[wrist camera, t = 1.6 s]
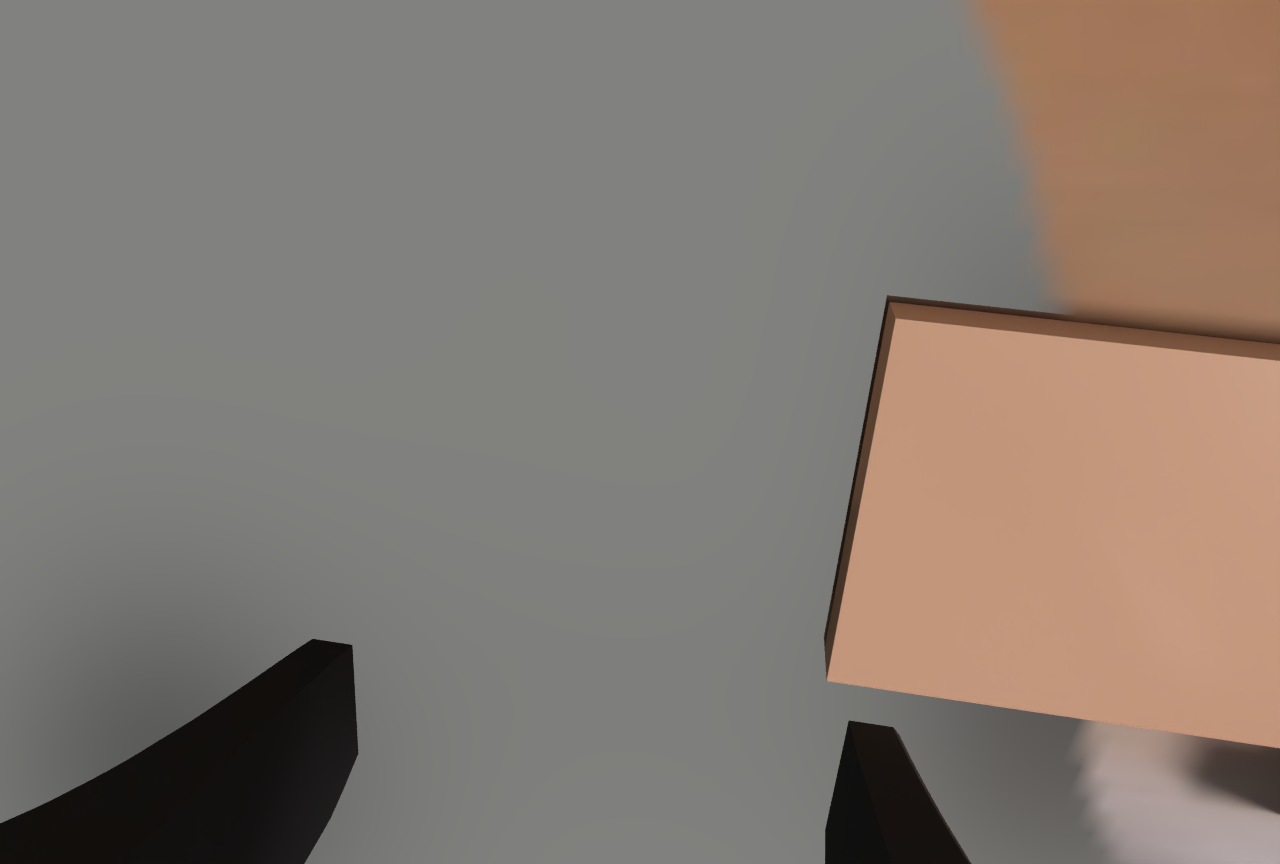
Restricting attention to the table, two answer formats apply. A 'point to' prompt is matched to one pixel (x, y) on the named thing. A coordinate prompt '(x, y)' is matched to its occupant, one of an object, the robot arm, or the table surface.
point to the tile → (1066, 522)
